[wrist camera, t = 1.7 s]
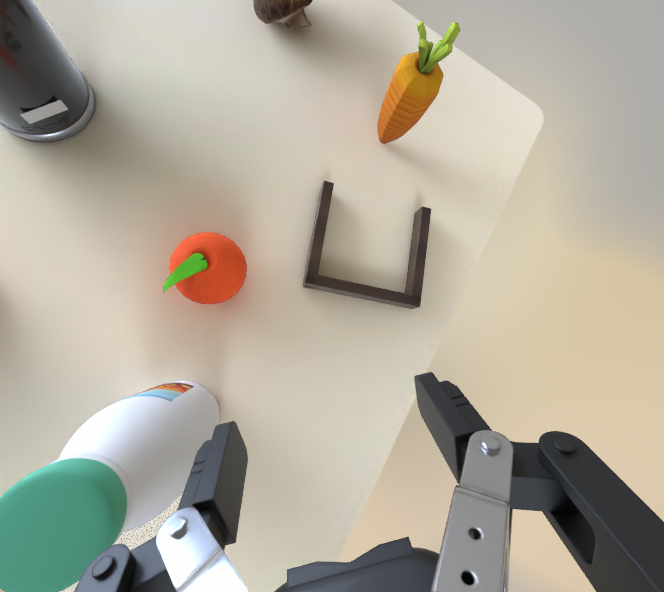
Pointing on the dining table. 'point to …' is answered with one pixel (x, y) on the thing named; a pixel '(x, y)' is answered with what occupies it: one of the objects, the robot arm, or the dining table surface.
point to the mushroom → (283, 12)
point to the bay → (363, 291)
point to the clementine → (207, 268)
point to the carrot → (414, 85)
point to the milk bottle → (102, 485)
